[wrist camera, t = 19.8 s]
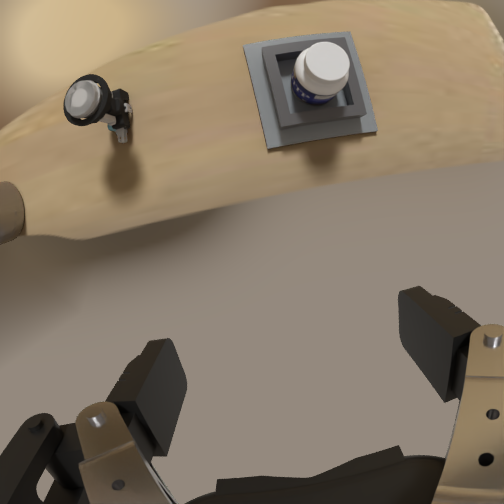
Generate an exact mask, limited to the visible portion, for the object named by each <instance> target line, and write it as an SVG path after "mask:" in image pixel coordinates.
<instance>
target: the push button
mask: <svg viewBox="0 0 504 504" xmlns="http://www.w3.org/2000/svg"><path fill="white" fill-rule="evenodd" d="M96 83H99V85H100V86H101V87H99V86H97V84H96ZM128 99H129V96H128V93H127V92H125V91H124V90H122V89H118V90H115V91H112V92H111V91H110V89H109V87H108V85H107V83H106V81H105V80H104V79H103V78H101V77H100V76H98V75H94V74H89V75H85V76H82V77H80V78H79V79H77V80H76V81H75V82H74V83H73V84H72V85H71V86H70V88H69V89H68V91H67V93H66V96H65V99H64V113H65V116H66V118H67V120H68V121H69V122H70V123H72V124H74V125H77V126H86V125H89V124H91V123H97V122H98V121H101V122H104V123H108V129H109V130H110V131H115V132H116V135H117V136H118V142H119V143H120V142H122V143H125V142H127V141H128V140H127V133H128V132H127V129H128V128H130V124H129V117H128V112H130V113H132V106H131V105H130V104H127V102H126V100H128ZM129 107H130V109H129ZM80 118H86V119H84V120H81V119H80ZM120 137H121V140H120ZM124 137H125V138H126V139H125V140H124Z"/></svg>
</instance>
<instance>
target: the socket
mask: <svg viewBox="0 0 504 504" xmlns="http://www.w3.org/2000/svg"><path fill="white" fill-rule="evenodd" d="M319 42H331V43H334V44H336V45H338V46H340V47H341V48H342V49H343V50H344V51H345V52H346V54H347V55H348V58H349V62H350V67H349V77H348V81H347V83H346V85H345V86H344V87H343V89H342V90H341V91H340V92H339V93H338V94H337V95H336V96H335V97H334V98H332V99H331V100H330V101H329V102H327V103H326V104H323V105H319V106H313V105H308V104H305V103H303V102H302V101H300V100H299V99H298V98H297V97H296V96H295V95H294V93H293V91H292V89H291V76H292V73H293V69H294V66H295V62H296V60H297V58H298V56H299V55H300V54H301V53H302V52H303V51H304V50H306V49H307V48H310V47H311V46H312V45H314V44H316V43H319ZM243 48H244V51H245V55H246V59H247V63H248V67H249V71H250V75H251V80H252V84H253V88H254V92H255V96H256V100H257V105H258V109H259V113H260V117H261V122H262V126H263V130H264V135H265V139H266V144H267V148H268V149H270V148H275V147H280V146H285V145H291V144H296V143H302V142H308V141H314V140H320V139H326V138H332V137H339V136H346V135H353V134H360V133H368V132H376V131H378V130H377V125H376V121H375V116H374V112H373V108H372V104H371V100H370V96H369V92H368V89H367V85H366V81H365V78H364V74H363V71H362V67H361V64H360V61H359V57H358V54H357V51H356V48H355V45H354V42H353V39H352V36H351V33H350V32H335V33H323V34H312V35H303V36H295V37H287V38H281V39H274V40H268V41H262V42H257V43H251V44H246V45H243Z"/></svg>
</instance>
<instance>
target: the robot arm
mask: <svg viewBox="0 0 504 504" xmlns="http://www.w3.org/2000/svg"><path fill="white" fill-rule="evenodd" d="M23 222H24V206H23V201H22V197H21V195H20V193H19V191H18V190H17V188H16V187H15V186H14V185H13V184H11V183H10V182H0V245H1V244H3V243H6V242H9V241H12V240H14V239H15V238H17V236H18V235H19V234H20V232H21V230H22V226H23ZM398 306H399V334H400V339H401V342H402V345H403V347H404V348H405V350H406V351H407V352H408V354H409V355H410V356H411V358H412V359H413V360H414V361H415V363H416V364H417V365H418V367H419V368H420V370H421V371H422V372H423V374H424V375H425V376H426V378H427V379H428V380H429V382H430V383H431V385H432V386H433V387H434V388H435V390H436V391H437V393H438V394H439V396H440V397H441V399H442V400H443V401H444V402H448V401H450V400H452V399H455V398H458V399H459V400H460V402H459V406H458V411H457V415H456V419H455V424H454V428H453V432H452V435H451V439H450V443H449V446H448V450H447V453H446V456H445V458H442V457H436V456H427V455H426V456H425V455H413V456H403V453H402V451H401V449H400V447H399V445H398V446H395V447H392V448H389V449H385V450H382V451H379V452H376V453H372V454H369V455H365V456H361V457H358V458H355V459H353V460H351V461H348V462H346V463H344V464H342V465H340V466H337V467H335V468H333V469H331V470H328V471H326V472H324V473H321V474H319V475H316V476H313V477H309V478H292V477H272V476H254V477H244V478H231V479H217V484H216V492H212V493H209V494H205V495H203V496H200V497H197V498H195V499H193V500H191V501H189V502H187V503H185V504H504V326H502V325H496V324H488V325H483V326H481V325H480V324H478V323H477V322H476V321H475V320H473V319H472V318H471V317H470V316H468V315H467V314H466V313H464V312H462V310H461V309H459V308H458V307H455V305H454V304H453V303H451V302H450V301H449V300H447V299H445V298H442V297H439V296H436V295H434V296H432V295H431V294H430V293H428V292H427V291H426V290H425V289H423V288H422V287H421V286H417V287H413V288H410V289H406V290H402V291H400V292H399V295H398ZM186 391H187V380H186V375H185V373H184V370H183V368H182V365H181V362H180V360H179V357H178V354H177V352H176V349H175V346H174V344H173V342H172V340H171V339H169V338H167V339H159V340H152V341H149V342H148V343H147V345H146V347H145V348H144V350H143V351H142V353H141V355H138V356H137V357H136V358H135V359H134V360H132V361H131V362H130V363H129V364H128V365H127V367H126V368H125V370H124V372H123V374H122V375H121V376H120V378H119V381H117V383H116V384H115V386H114V388H113V389H112V391H111V393H110V394H109V396H108V397H107V399H106V401H105V402H98V403H94V404H92V405H90V406H88V407H86V408H85V409H83V410H82V411H81V412H80V413H79V414H78V416H77V418H76V421H75V423H71V424H66V425H60V426H59V425H58V424H57V422H56V421H55V419H54V418H53V416H52V415H50V414H48V413H41V414H37V415H34V416H33V417H30V418H29V419H27V420H26V421H25V422H24V423H23V424H22V426H21V427H20V428H19V430H18V431H17V433H16V434H15V435H14V437H13V438H12V440H11V441H10V442H9V444H8V445H7V447H6V448H5V450H4V451H3V453H2V454H1V455H0V504H178V502H177V501H176V499H175V498H174V497H173V495H172V494H171V492H170V491H169V489H168V488H167V486H166V485H165V483H164V482H163V480H162V479H161V477H160V476H159V474H158V473H157V471H156V470H155V468H154V466H153V465H152V463H151V460H152V457H153V456H167V454H168V451H169V447H170V444H171V441H172V437H173V434H174V431H175V427H176V424H177V420H178V417H179V414H180V411H181V407H182V404H183V401H184V397H185V394H186ZM45 468H46V470H47V471H48V472H49V473H50V474H51V475H52V477H53V478H54V482H53V484H52V486H51V488H50V490H49V492H48V494H47V496H46V498H45V500H44V502H42V501H41V500H40V498H39V497H38V495H37V491H36V486H37V483H38V481H39V479H40V477H41V475H42V473H43V471H44V470H45Z"/></svg>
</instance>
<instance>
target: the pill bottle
mask: <svg viewBox="0 0 504 504" xmlns="http://www.w3.org/2000/svg"><path fill="white" fill-rule="evenodd" d="M349 67H350V62H349V58H348V55H347V54H346V52H345V51H344V50H343V49H342V48H341V47H340V46H338V45H336V44H334V43H331V42H319V43H316V44H314V45H312V46H311V47H310V48H307V49H306V50H304V51H303V52H302V53H301V54H300V55H299V56H298V58H297V60H296V62H295V66H294V69H293V73H292V76H291V89H292V91H293V93H294V95H295V96H296V97H297V98H298V99H299V100H300V101H302V102H303V103H305V104H308V105H313V106H319V105H323V104H326V103H327V102H329V101H330V100H331V99H332V98H334V97H335V96H336V95H337V94H338V93H339V92H340V91H341V90H342V89H343V87H344V86H345V85H346V83H347V81H348V77H349Z"/></svg>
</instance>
